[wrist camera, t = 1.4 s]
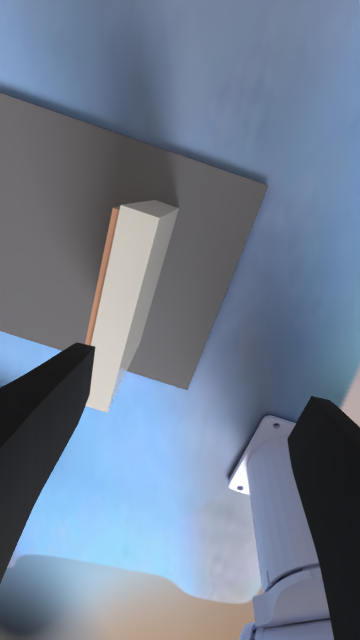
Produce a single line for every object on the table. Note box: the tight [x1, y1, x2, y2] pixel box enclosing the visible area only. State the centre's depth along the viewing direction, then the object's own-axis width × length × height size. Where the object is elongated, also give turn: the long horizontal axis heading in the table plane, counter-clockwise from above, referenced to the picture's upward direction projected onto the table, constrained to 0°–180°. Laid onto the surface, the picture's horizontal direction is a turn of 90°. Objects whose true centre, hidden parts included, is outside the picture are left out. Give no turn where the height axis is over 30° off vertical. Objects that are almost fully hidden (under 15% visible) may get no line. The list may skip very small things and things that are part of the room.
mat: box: [0, 93, 268, 390], centre depth 19 cm, size 15×14×1 cm
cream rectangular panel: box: [85, 200, 179, 412], centre depth 15 cm, size 2×9×7 cm, turn 163°
